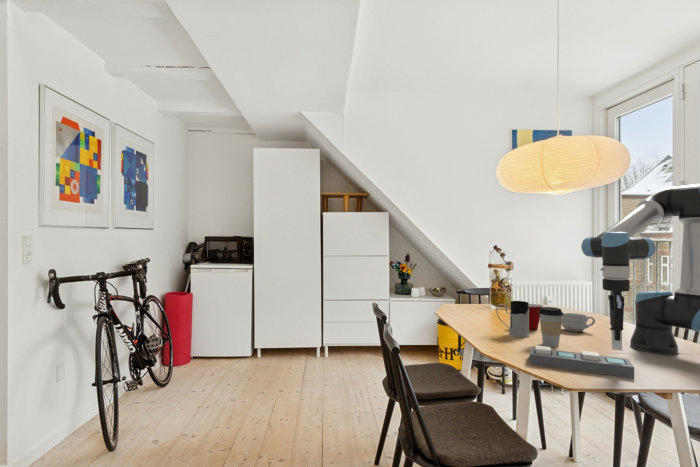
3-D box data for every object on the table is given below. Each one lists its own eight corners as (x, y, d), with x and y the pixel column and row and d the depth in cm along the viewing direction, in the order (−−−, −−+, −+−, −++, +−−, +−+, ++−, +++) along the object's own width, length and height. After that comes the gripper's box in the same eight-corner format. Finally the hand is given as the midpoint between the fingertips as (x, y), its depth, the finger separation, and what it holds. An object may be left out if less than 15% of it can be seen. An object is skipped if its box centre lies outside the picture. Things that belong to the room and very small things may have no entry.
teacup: (557, 330, 187) (557, 313, 188) (565, 327, 195) (565, 310, 195) (590, 336, 178) (591, 318, 178) (597, 332, 185) (597, 315, 185)
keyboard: (628, 368, 133) (628, 358, 133) (634, 378, 124) (634, 367, 124) (530, 356, 146) (530, 347, 146) (529, 364, 137) (529, 354, 137)
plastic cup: (534, 326, 197) (534, 302, 197) (548, 331, 186) (548, 305, 186) (514, 326, 195) (514, 302, 195) (526, 331, 184) (527, 306, 185)
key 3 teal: (573, 360, 138) (573, 353, 138) (574, 364, 133) (574, 357, 133) (558, 358, 140) (558, 352, 140) (558, 362, 135) (558, 355, 136)
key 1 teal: (623, 366, 131) (623, 359, 131) (625, 371, 127) (625, 363, 127) (606, 364, 133) (606, 357, 134) (608, 369, 129) (608, 361, 129)
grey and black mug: (531, 338, 172) (531, 304, 172) (497, 336, 176) (497, 302, 176) (528, 333, 181) (528, 301, 181) (495, 331, 184) (495, 299, 185)
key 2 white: (597, 359, 135) (597, 352, 135) (599, 363, 130) (599, 356, 130) (581, 357, 137) (581, 350, 137) (582, 361, 132) (582, 354, 132)
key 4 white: (550, 353, 141) (550, 347, 141) (550, 357, 137) (550, 350, 137) (535, 351, 143) (535, 345, 143) (535, 355, 139) (535, 348, 139)
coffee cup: (566, 349, 156) (566, 311, 156) (541, 347, 158) (541, 310, 158) (559, 342, 166) (559, 307, 166) (535, 341, 167) (535, 306, 168)
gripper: (599, 275, 138) (600, 343, 138) (605, 280, 126) (606, 353, 126) (625, 276, 135) (626, 345, 135) (633, 281, 123) (634, 356, 123)
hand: (616, 349), depth 131 cm, fingers closed
